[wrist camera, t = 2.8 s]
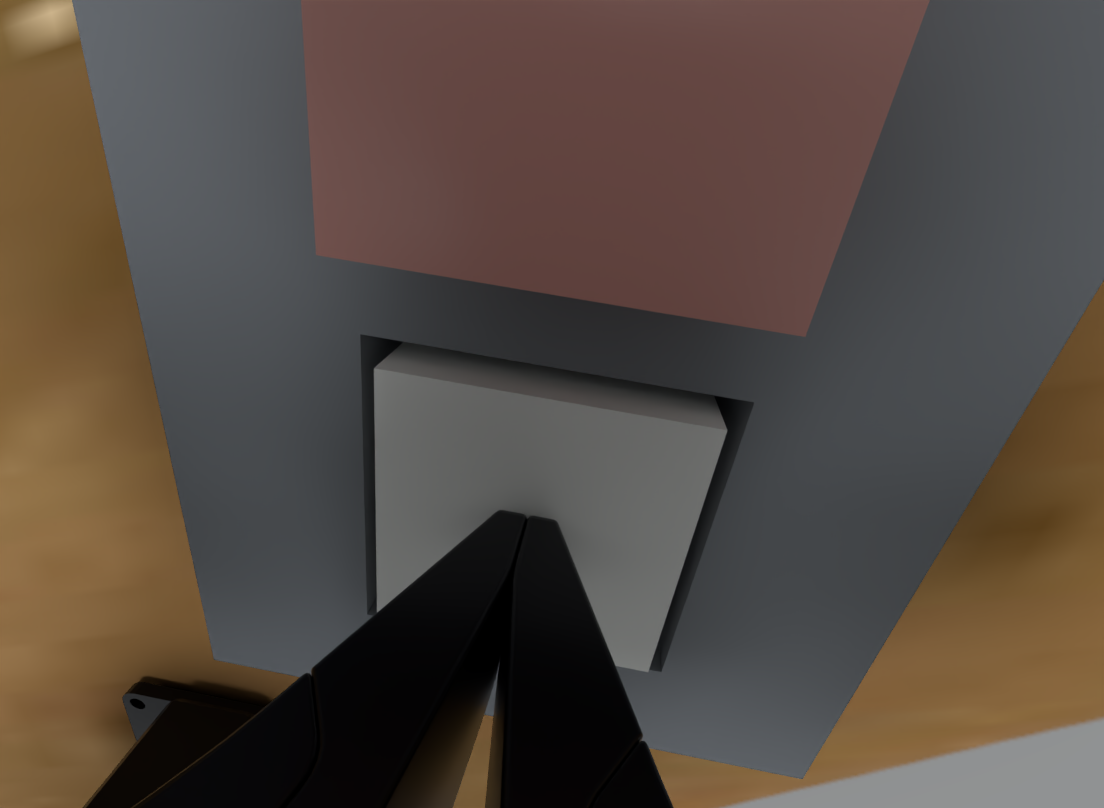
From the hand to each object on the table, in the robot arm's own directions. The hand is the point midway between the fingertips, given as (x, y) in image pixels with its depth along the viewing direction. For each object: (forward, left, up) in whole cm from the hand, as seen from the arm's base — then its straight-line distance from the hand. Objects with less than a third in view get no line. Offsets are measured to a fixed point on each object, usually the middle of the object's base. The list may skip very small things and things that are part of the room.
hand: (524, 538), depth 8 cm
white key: (0, 0, -3) cm, 3 cm away
